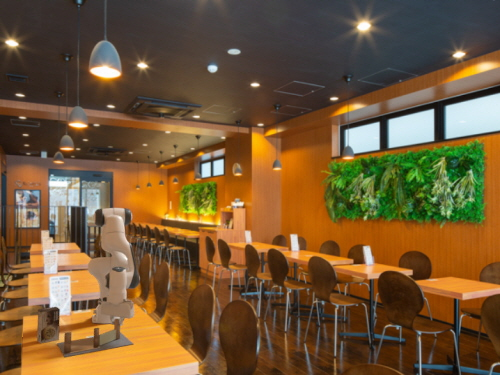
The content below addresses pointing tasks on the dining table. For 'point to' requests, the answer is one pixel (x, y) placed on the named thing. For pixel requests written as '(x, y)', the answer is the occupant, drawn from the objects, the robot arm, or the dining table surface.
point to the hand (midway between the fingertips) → (117, 324)
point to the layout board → (112, 344)
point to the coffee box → (48, 324)
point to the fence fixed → (80, 342)
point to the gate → (110, 334)
